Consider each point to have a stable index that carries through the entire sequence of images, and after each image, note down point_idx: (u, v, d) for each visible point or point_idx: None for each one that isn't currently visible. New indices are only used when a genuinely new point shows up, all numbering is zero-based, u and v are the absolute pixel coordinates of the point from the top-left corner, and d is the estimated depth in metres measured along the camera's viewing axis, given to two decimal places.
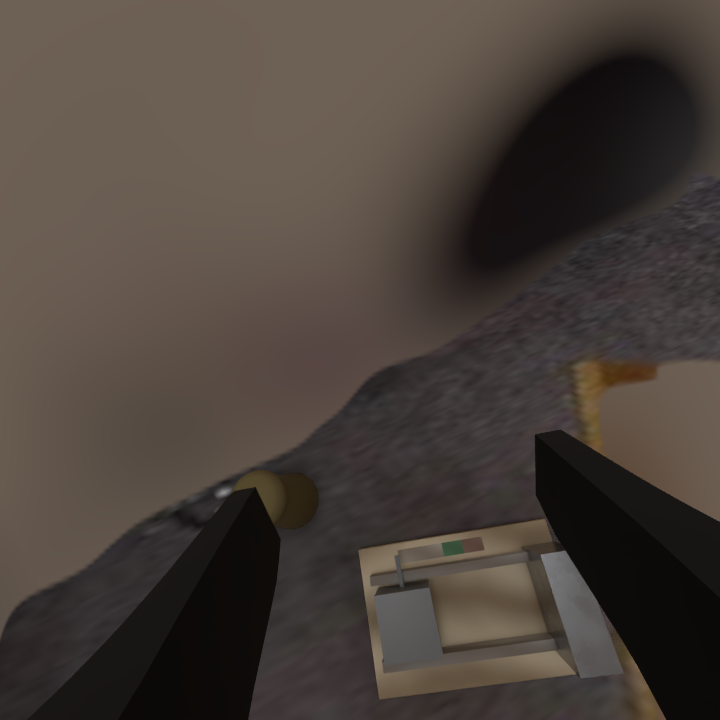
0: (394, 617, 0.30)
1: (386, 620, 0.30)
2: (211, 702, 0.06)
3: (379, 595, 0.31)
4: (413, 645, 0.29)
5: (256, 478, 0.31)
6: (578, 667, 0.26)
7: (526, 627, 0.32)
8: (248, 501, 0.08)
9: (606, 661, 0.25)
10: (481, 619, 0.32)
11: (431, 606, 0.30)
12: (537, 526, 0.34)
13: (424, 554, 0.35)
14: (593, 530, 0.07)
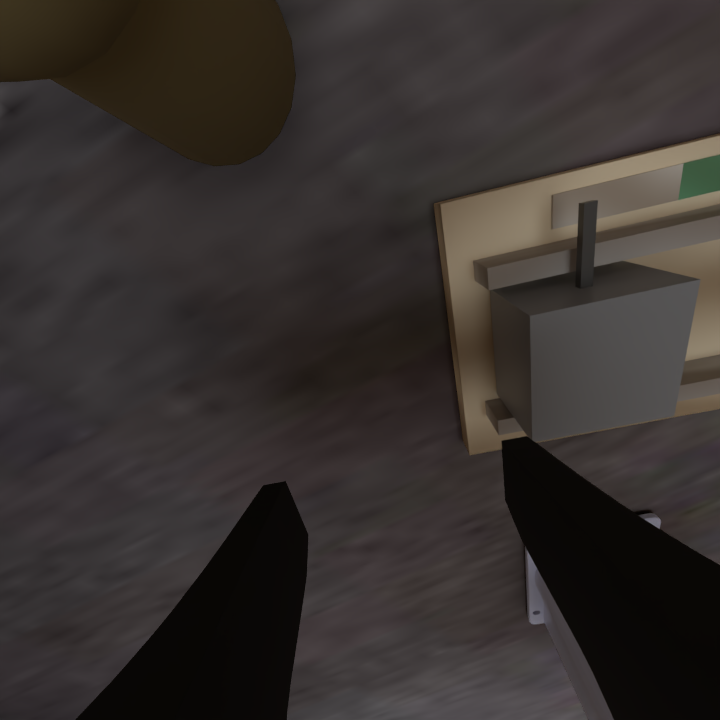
0: (577, 357, 0.11)
1: (553, 364, 0.11)
2: (255, 696, 0.06)
3: (544, 312, 0.11)
4: (609, 402, 0.12)
5: None
6: None
7: None
8: (280, 496, 0.08)
9: None
10: (705, 326, 0.15)
11: (687, 323, 0.11)
12: None
13: (625, 198, 0.13)
14: (551, 537, 0.07)
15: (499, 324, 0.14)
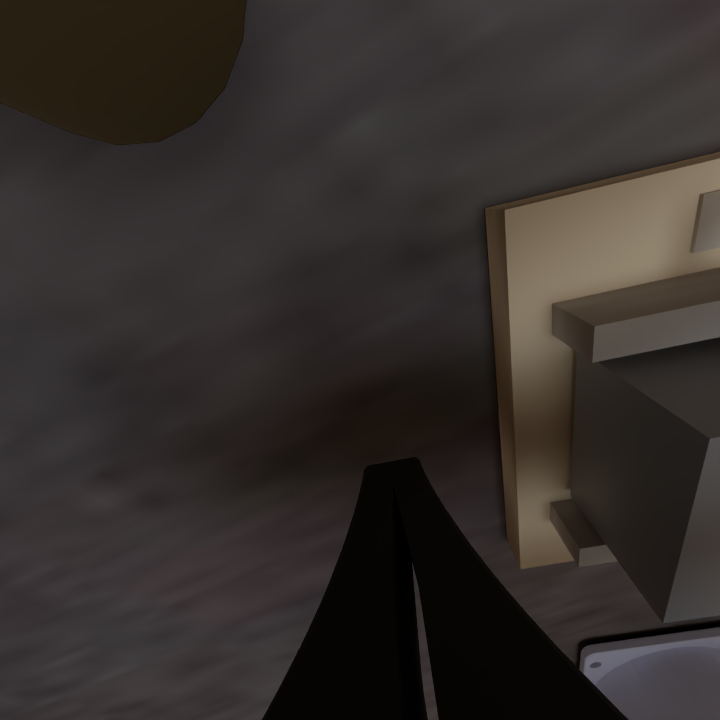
0: None
1: None
2: (414, 674, 0.06)
3: None
4: None
5: None
6: None
7: None
8: (392, 475, 0.08)
9: None
10: None
11: None
12: None
13: None
14: (412, 560, 0.07)
15: (594, 408, 0.08)
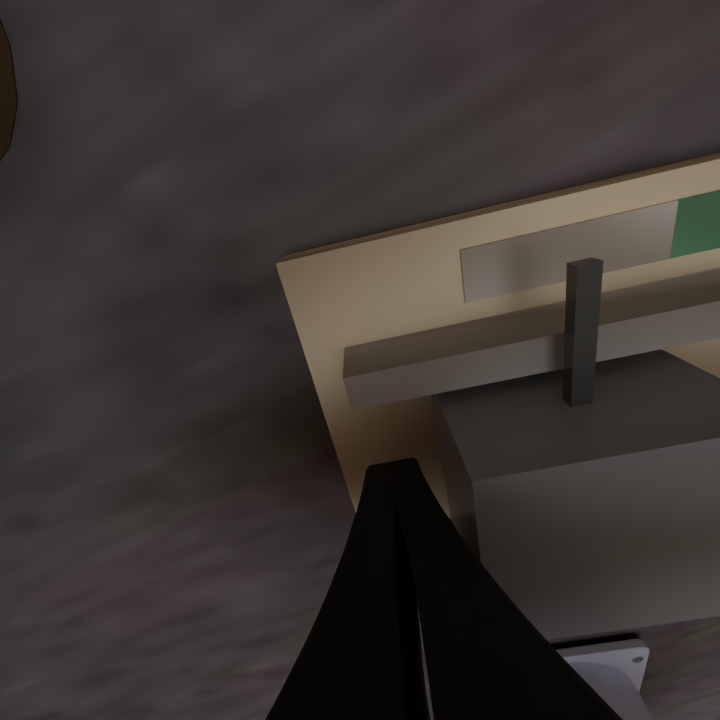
0: (564, 540, 0.06)
1: (522, 550, 0.06)
2: (416, 674, 0.06)
3: (499, 473, 0.06)
4: (621, 599, 0.07)
5: None
6: None
7: None
8: (394, 475, 0.08)
9: None
10: None
11: None
12: None
13: (581, 255, 0.08)
14: None
15: (442, 437, 0.09)
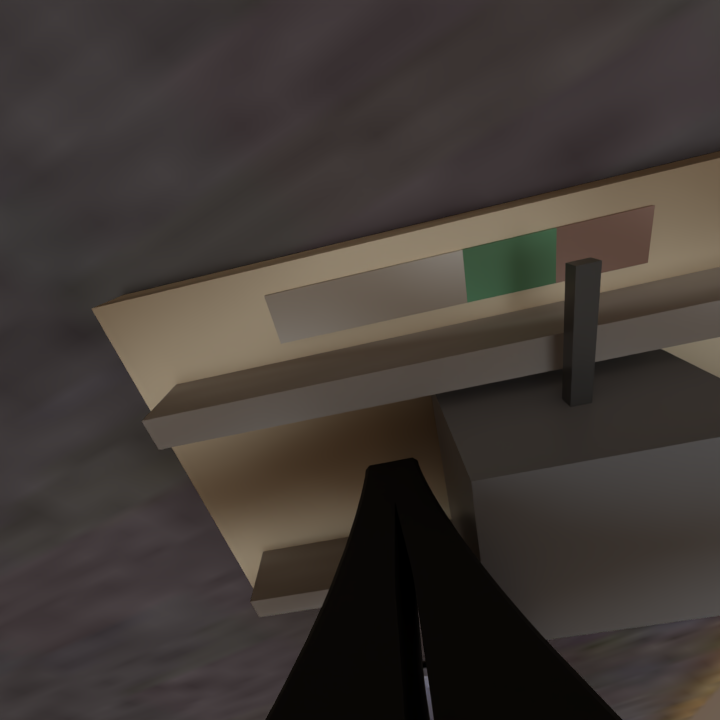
0: (563, 540, 0.06)
1: (521, 550, 0.06)
2: (416, 674, 0.06)
3: (499, 473, 0.06)
4: (621, 599, 0.07)
5: None
6: None
7: None
8: (394, 475, 0.08)
9: None
10: None
11: None
12: None
13: (384, 300, 0.08)
14: None
15: (442, 437, 0.09)
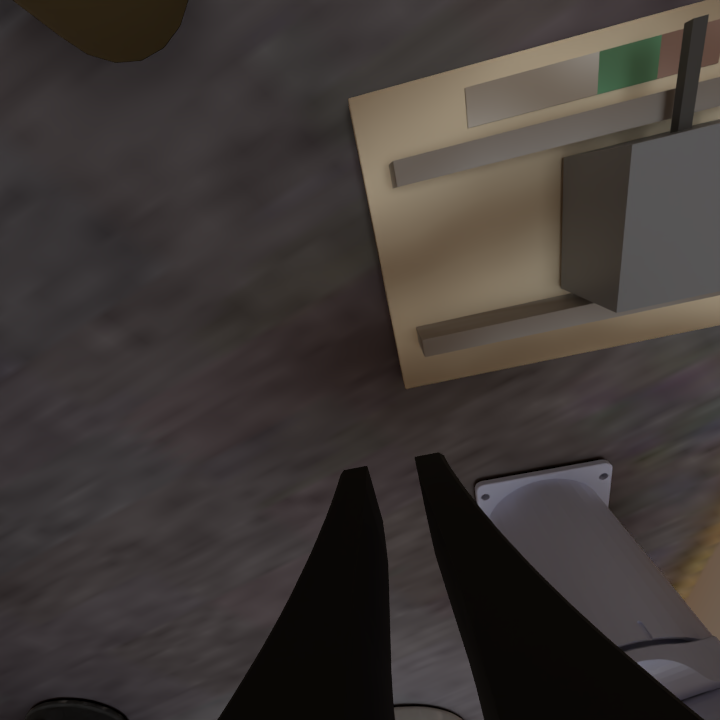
0: (677, 201, 0.10)
1: (651, 209, 0.10)
2: (378, 679, 0.06)
3: (647, 142, 0.10)
4: (706, 261, 0.11)
5: None
6: None
7: None
8: (367, 480, 0.08)
9: None
10: None
11: None
12: None
13: (542, 93, 0.12)
14: (442, 555, 0.07)
15: (575, 193, 0.13)
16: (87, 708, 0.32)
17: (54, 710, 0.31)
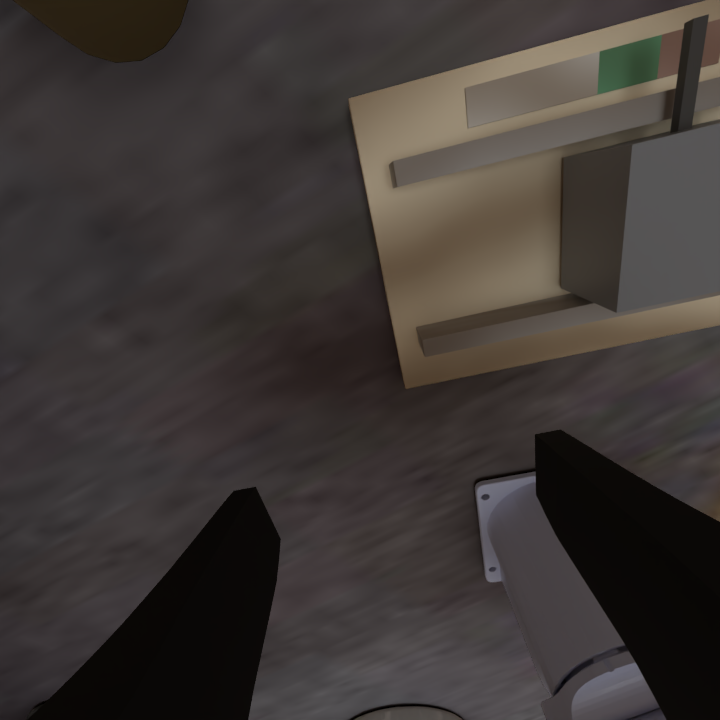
0: (678, 201, 0.10)
1: (651, 209, 0.10)
2: (211, 702, 0.06)
3: (647, 142, 0.10)
4: (706, 261, 0.11)
5: None
6: None
7: None
8: (248, 501, 0.08)
9: None
10: None
11: None
12: None
13: (542, 93, 0.12)
14: (593, 530, 0.07)
15: (575, 193, 0.13)
16: None
17: None
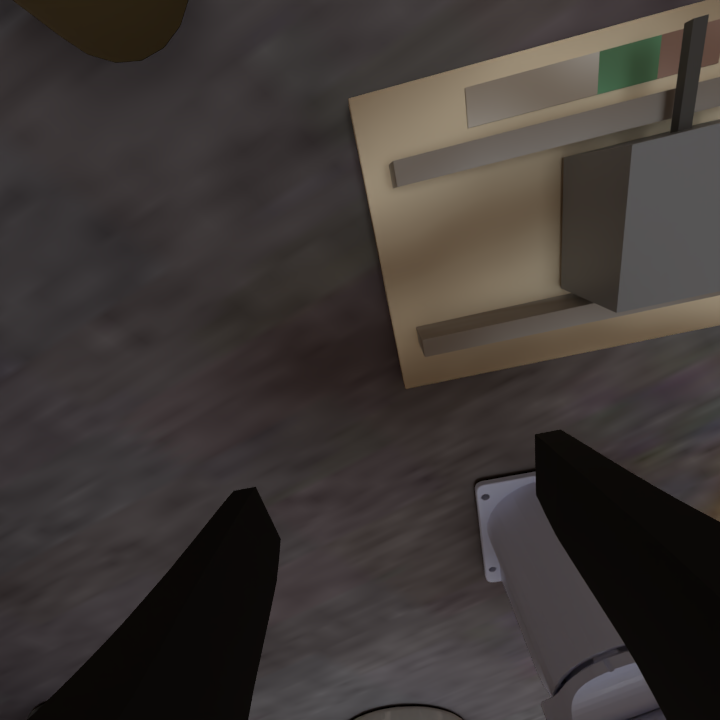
0: (678, 201, 0.10)
1: (651, 209, 0.10)
2: (211, 702, 0.06)
3: (647, 142, 0.10)
4: (706, 261, 0.11)
5: None
6: None
7: None
8: (248, 501, 0.08)
9: None
10: None
11: None
12: None
13: (542, 93, 0.12)
14: (593, 530, 0.07)
15: (575, 193, 0.13)
16: None
17: None
